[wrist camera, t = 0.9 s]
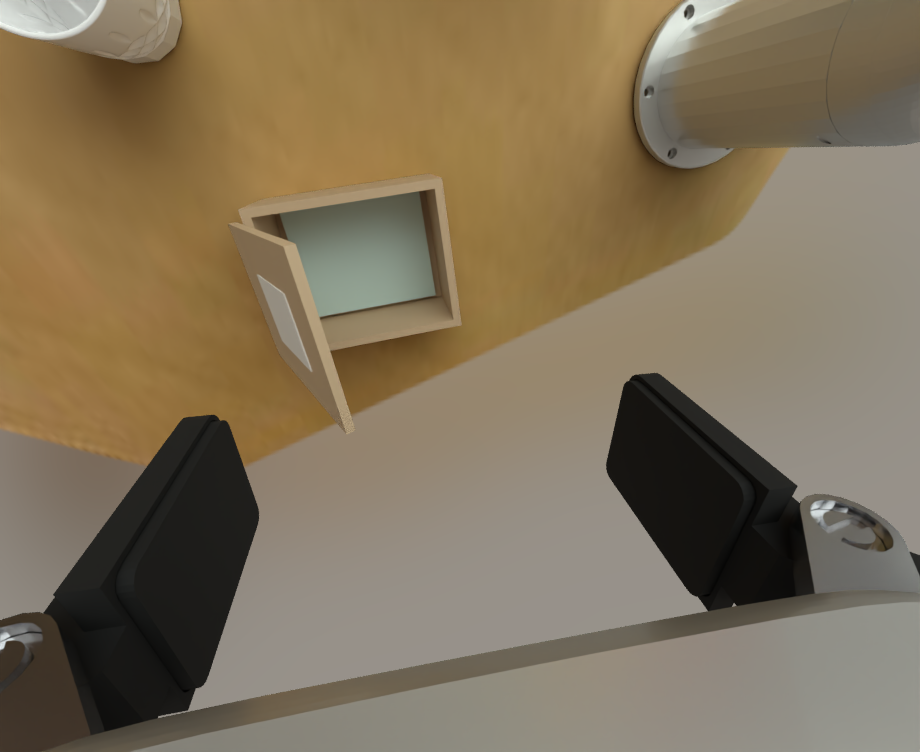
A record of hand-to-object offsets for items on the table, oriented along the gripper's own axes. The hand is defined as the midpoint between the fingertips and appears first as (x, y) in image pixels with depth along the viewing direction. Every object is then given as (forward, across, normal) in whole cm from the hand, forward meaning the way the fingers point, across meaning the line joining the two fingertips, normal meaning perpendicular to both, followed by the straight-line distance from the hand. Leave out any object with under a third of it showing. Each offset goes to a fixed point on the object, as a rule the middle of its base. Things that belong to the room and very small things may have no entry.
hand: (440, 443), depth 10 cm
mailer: (+30, +3, +2) cm, 30 cm away
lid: (+16, +7, +2) cm, 18 cm away
